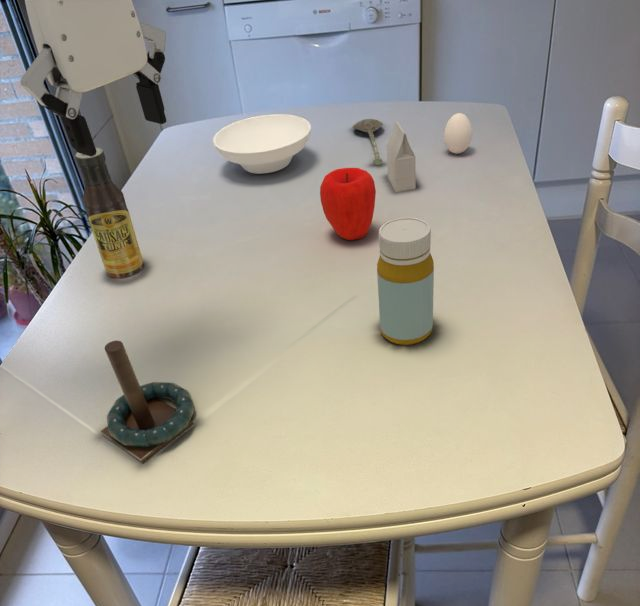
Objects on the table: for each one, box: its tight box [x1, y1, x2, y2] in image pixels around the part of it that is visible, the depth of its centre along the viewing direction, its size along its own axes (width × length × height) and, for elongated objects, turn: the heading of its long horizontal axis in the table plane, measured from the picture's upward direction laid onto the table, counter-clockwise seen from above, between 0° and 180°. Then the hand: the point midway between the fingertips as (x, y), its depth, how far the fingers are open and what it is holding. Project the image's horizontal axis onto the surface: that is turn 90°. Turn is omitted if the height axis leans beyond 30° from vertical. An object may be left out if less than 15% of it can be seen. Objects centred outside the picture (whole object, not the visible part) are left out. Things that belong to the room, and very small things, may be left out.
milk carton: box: [386, 120, 417, 193], centre depth 116 cm, size 4×7×10 cm, turn 8°
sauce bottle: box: [74, 147, 144, 279], centre depth 100 cm, size 6×6×20 cm
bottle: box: [376, 216, 435, 346], centre depth 82 cm, size 7×7×15 cm
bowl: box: [212, 113, 312, 174], centre depth 130 cm, size 20×20×7 cm
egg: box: [443, 112, 473, 155], centre depth 124 cm, size 5×5×7 cm
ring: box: [106, 381, 196, 447], centre depth 78 cm, size 10×10×2 cm
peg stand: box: [100, 340, 195, 464], centre depth 74 cm, size 8×8×13 cm
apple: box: [319, 167, 377, 241], centre depth 104 cm, size 9×9×11 cm
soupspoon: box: [352, 118, 384, 166], centre depth 133 cm, size 22×3×7 cm
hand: (122, 137), depth 72 cm, fingers open, 9 cm apart
